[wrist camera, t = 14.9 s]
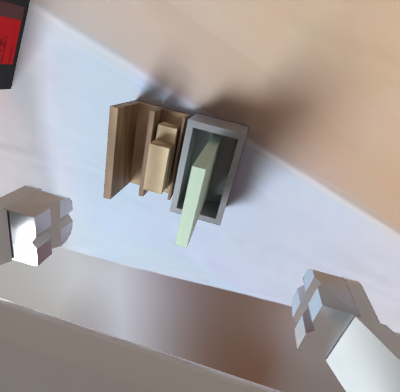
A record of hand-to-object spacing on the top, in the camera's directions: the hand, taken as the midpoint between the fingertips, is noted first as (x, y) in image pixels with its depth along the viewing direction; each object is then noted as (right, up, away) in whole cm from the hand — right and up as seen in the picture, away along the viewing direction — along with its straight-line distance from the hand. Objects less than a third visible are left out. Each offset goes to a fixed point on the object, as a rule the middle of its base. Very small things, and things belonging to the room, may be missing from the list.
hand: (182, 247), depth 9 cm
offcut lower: (-5, +9, +40) cm, 42 cm away
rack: (-7, +11, +42) cm, 44 cm away
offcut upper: (-6, +7, +38) cm, 39 cm away
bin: (+3, +8, +41) cm, 42 cm away
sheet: (+2, +7, +40) cm, 41 cm away
